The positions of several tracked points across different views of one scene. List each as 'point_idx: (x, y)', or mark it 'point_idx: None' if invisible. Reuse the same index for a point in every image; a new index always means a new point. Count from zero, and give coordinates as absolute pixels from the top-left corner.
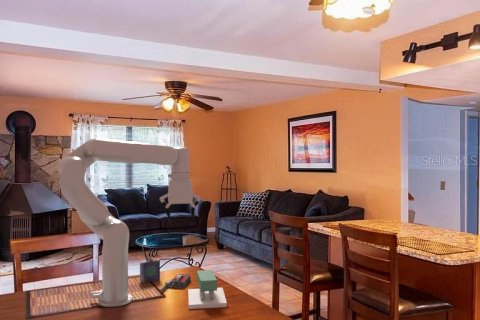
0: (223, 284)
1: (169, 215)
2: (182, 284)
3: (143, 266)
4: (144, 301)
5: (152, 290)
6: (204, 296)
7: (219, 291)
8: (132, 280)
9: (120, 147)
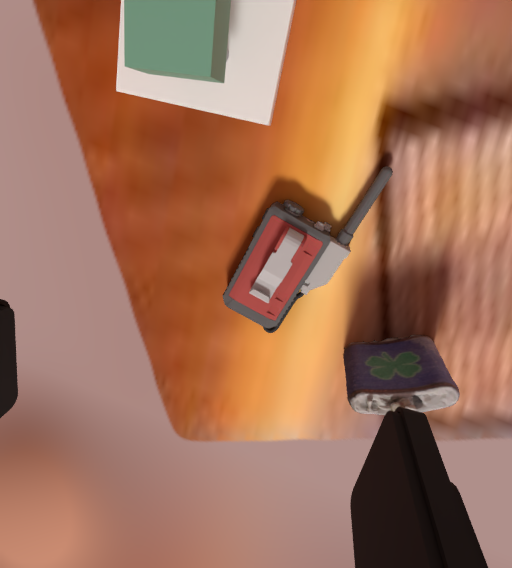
0: (106, 185)
1: (404, 433)
2: (278, 206)
3: (439, 375)
4: (495, 73)
5: (412, 221)
6: None
7: None
8: None
9: None
